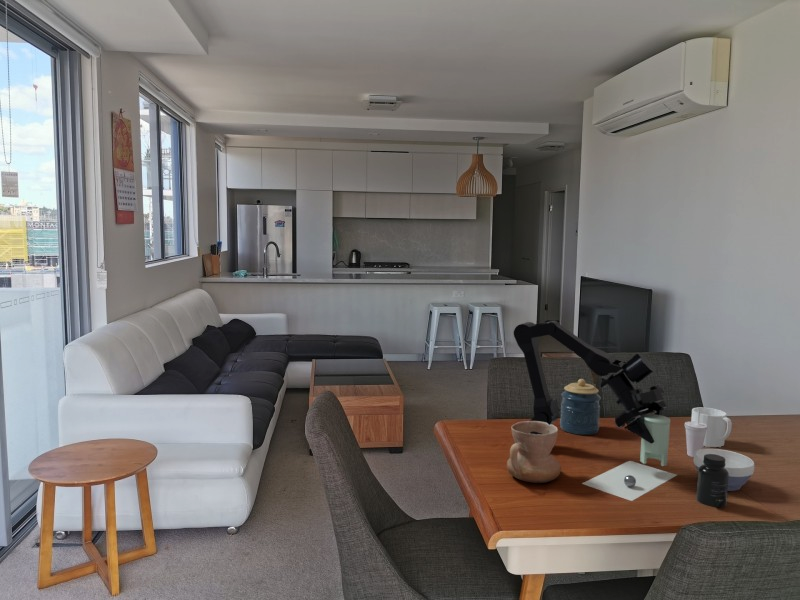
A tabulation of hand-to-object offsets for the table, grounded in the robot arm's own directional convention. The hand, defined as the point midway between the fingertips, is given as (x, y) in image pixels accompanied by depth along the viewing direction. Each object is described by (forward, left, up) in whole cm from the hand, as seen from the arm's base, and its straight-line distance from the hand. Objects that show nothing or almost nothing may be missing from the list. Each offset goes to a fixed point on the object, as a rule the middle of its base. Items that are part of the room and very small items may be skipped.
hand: (659, 440), depth 170 cm
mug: (+17, +37, -11) cm, 42 cm away
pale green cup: (-1, +1, -7) cm, 7 cm away
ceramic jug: (-32, -14, -11) cm, 37 cm away
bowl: (+16, +1, -11) cm, 19 cm away
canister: (-24, +35, -11) cm, 44 cm away
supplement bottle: (+12, -13, -11) cm, 21 cm away
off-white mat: (-7, -6, -11) cm, 14 cm away
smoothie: (+11, +23, -11) cm, 28 cm away
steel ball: (-7, -11, -9) cm, 16 cm away
